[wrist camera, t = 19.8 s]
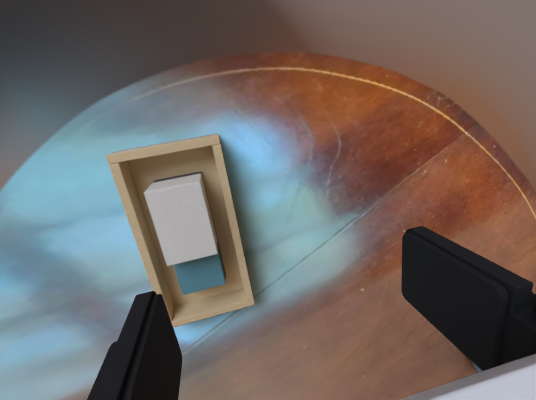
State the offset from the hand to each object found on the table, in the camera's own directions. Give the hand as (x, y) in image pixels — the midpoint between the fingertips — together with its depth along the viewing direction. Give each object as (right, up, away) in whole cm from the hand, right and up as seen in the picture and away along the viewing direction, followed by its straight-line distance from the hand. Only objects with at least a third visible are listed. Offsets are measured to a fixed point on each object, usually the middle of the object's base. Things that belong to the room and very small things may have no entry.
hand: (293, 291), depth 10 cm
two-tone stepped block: (-9, 0, +19) cm, 21 cm away
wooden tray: (-9, 0, +19) cm, 21 cm away
